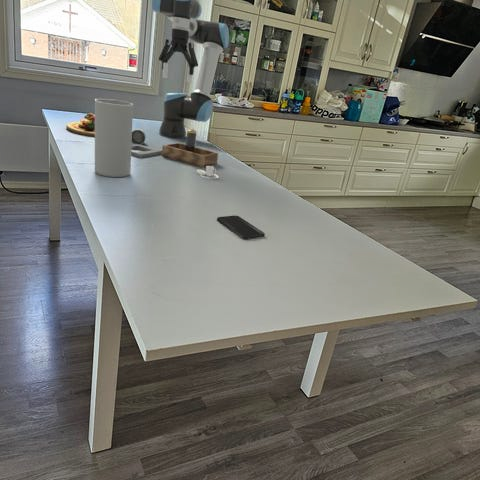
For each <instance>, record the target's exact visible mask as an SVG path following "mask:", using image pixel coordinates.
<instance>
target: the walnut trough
mask: <svg viewBox="0 0 480 480" xmlns="http://www.w3.org/2000/svg"><path fill="white" fill-rule="evenodd" d="M161 149H162V150H161V151H162V154H161V157H164V158H167V159H171V160H174V161H178V162H181V163H185V164H189V165H192V166H196V167H200V168H202V167H203V168H206V166H210V165H211V166H214V164H215V165H217V164H218V158H219V152H215V151H212V150H208V149H205V148H201V147H196V146H195V150H194V153H193V152H189V151H185V150H186V143H182V142H173V143H167V144H163V145H162V147H161Z"/></svg>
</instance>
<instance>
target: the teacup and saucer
mask: <svg viewBox="0 0 480 480" xmlns="http://www.w3.org/2000/svg"><path fill="white" fill-rule="evenodd" d="M205 168H206V169H205V170H204V169H197V171H196V173H197V174H198V175H199V176H200V177H202V178H205V179H209V177H211V179H219V177H220V176H219V175H218V174H216V173H217V169H216V168H215V167H214V165H211V166H206V167H205ZM212 176H214V177H212Z"/></svg>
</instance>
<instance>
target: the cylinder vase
mask: <svg viewBox="0 0 480 480" xmlns="http://www.w3.org/2000/svg"><path fill="white" fill-rule="evenodd" d="M133 112H134V103H132V102H129V101H126V100H121V99H120V100H118V99H112V98H111V99H110V98H109V99H108V98H95V99H94V116H95V137H94V172H95V173H96V174H98V175H100V176H103V177H107V178H108V177H109V178H123V177H127V176H129V175H130V174H131V168H132V167H131V166H132V165H131V164H132V155H131V146H132V144H133V143H132V131H133V116H134V113H133Z"/></svg>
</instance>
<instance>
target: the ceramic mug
mask: <svg viewBox="0 0 480 480" xmlns="http://www.w3.org/2000/svg"><path fill="white" fill-rule="evenodd" d="M146 137H147V135H146V132H145V131H144V130H143V129H141V128H135V129H132V144H140V145H143V144H144V143H145V142H146Z"/></svg>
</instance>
